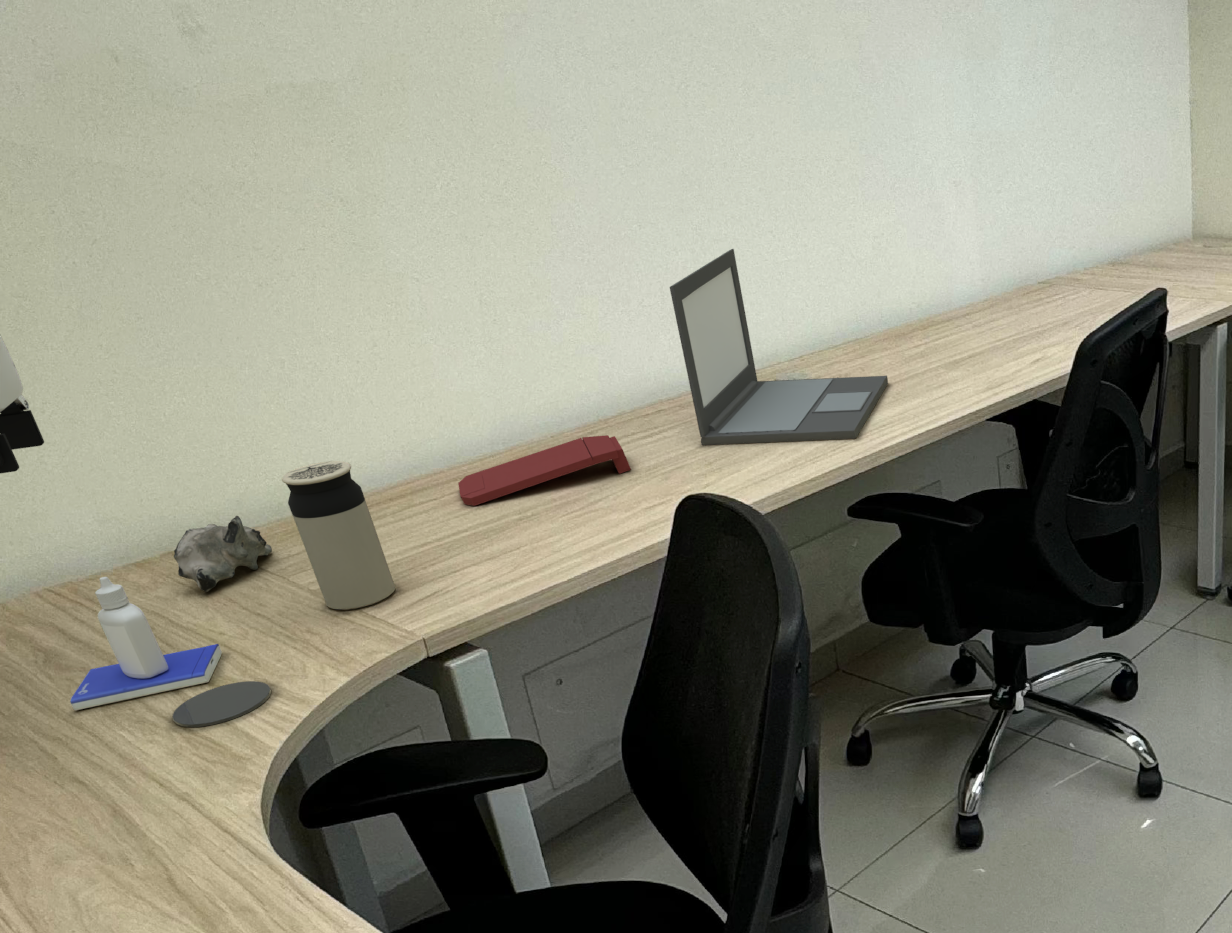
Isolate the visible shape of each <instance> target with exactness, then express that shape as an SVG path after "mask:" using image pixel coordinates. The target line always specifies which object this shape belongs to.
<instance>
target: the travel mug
mask: <svg viewBox="0 0 1232 933" xmlns="http://www.w3.org/2000/svg"><path fill="white" fill-rule="evenodd" d="M351 470H352V465H351V464H350V463H349V462H347V461H343V460H328V461H321V462H315V463H310V464H306V465H303V466H298V467H296V468H294V469H291V470H289V471H287V472H285V473H284V474H283V475H282V477H281V481H282V483H283V484H285V485H286V486H287V488H288V489H289V491H290V493H289V497H288V500H287V505H288V507H289V510H290V512H291V515H292V518H293V520H294V523H295V525H296V528H297V531H298V534H299V536H300V540H301V541H302V544H303V547H304V550H305V552H306V555H307V558H308V560H309V563H310V565H311V568H312V571H313V574H314V576H315V579H316V581H317V583H318V587H319V589H320V592H321V594H322V598H323V600H324V602H325V605H326V607H328V608H330V609H332V610H346V611H347V610H349V611H350V610H357V609H362V608H365V607H368V606H373V605H374V604H377V603H379V602H381V601H383V600H385V599H387V598H388V597H390V595H392V594H393V593H394V592H395V590H396V585H395V581H394V579H393V577H392V572H391V570H390V568H389V564H388V561H387V559H386V556H385V553H384V550H383V548H382V544H381V542H380V538H379V536H378V533H377V530H376V526H375V524H374V522H373V519H372V515H371V512H370V509H369V507H368V503H367V500H366V498H365V495H364V492H363V489H362V487H361V486H360V485H359V484H358V483H357V482H356V481H355V480H354V479H353V478H352V475H351Z"/></svg>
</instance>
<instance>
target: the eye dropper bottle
mask: <svg viewBox="0 0 1232 933" xmlns="http://www.w3.org/2000/svg"><path fill="white" fill-rule="evenodd" d="M99 584H100V588H98V589H97V590H96V591H95V592H94V594H95V596H96V599H97V601H98V602H99V605H100V607H101V609H100V610H99V611H98V613H97V620H98V622H99V625H100V627H101V629H102V631H103V633H104V635H105V638H106V639H107V642H108V644H109V646H110V648H111V650H112V653H113V654H114V656H115V659H116V662H117V664H119V665H120V667H121V669H122V671H123V673H124V674H125V675H127V676H129V677H132V678H139V679H146V678H151V677H154V676H156V675H158V674H161V673H163V672H165V671H167V670H168V665H167V662H166V660H165V658H164V656H163V655H164V654H163V651H162V649H161V647H160V645H159V643H158V641H157V638H156V636H155V633H154V632H153V630H152V627H151V625H150V622H149V621H148V619H147V616H146V615H145V613H144V611H143V610H142V609H141V608H140V607H139V606H137V605H136V604H133V603H132V602H130V600H129V598H128V595H127V593H126V590H125V589H124V587H123V585H122V584H115V583H113V582H112V581H111V580H110V578H109V577H108V576H102V577H100V578H99Z"/></svg>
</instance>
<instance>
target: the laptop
mask: <svg viewBox="0 0 1232 933" xmlns="http://www.w3.org/2000/svg"><path fill="white" fill-rule="evenodd" d="M669 292H670V296H671V302H672V306H673V310H674V315H675V320H676V325H677V330H678V336H679V339H680V344H681V349H682V354H683V359H684V364H685V369H686V374H687V378H688V383H689V388H690V394H691V398H692V403H693V408H694V412H695V416H696V417H695V418H696V422H697V428H698V432H699V436H700V444H701V446H716V445H740V444H762V443H765V444H766V443H785V442H786V443H787V442H788V443H789V442H809V441H810V442H811V441H829V440H830V441H831V440H834V441H835V440H855V439H857V438H858V436H859V434H860V432H861V430H862V429H863V427H864V426H865V424H866V422H867V420H868V419H869V417H870V415H871V414H872V412H873V410H874V409H875V407H876V405H877V403H878V401H879V400H880V398H881V396H882V395H883V394H884V391H885V390H886V388H887V386H888V384H889V379H888V375H872V376H871V375H870V376H869V375H868V376H849V377H848V376H846V377H829V378H827V377H826V378H823V377H822V378H801V379H800V378H799V379H779V380H778V379H777V380H758V377H757V376H758V375H757V371H756V366H755V365H756V364H755V359H754V354H753V349H752V342H751V337H750V332H749V327H748V321H747V315H746V310H745V304H744V299H743V298H744V297H743V293H742V287H741V282H740V276H739V270H738V266H737V260H736V254H735V249H734V248H731V249H729V250H727V251H726V252H724V253H722V254H721V255H719V256H717V257H716V258H714V259H713V260H711V261H709V262H708V263H706V264H704V265H703V266H701V267H700V268H697V269H696V270H695V271H693V272H691V273H690V274H688V275H686V276H685V277H683V278H681V279H680V280H679V281H677V282H675V283H673V284H672V285H670V286H669Z"/></svg>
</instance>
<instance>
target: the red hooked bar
mask: <svg viewBox="0 0 1232 933" xmlns="http://www.w3.org/2000/svg"><path fill="white" fill-rule="evenodd" d="M609 461H611V462H612V464H613V465H614V467H615V469H616V470H617V472H618V474H619V475H620V474H623V473H625V472H629V471H631V470H632V468H631V466H630V463H629V460H628V459H627V456H626V454H625V452H624V449H623V447H622V445H621V444H620V442H619V440H618V439H617V437H616V436H611V437H610V436H609V434H608V435H607V434H606V435H594V436H593V435H591V436H582V437H578V438H576V439H572V440H570V441H567V442H564V443H560V444H557V445H554V446H552V447H549V448H546V449H543V450H540V451H537V452H534V453H531V454H528V455H525V456H521V457H519V458H516V459H513V460H510V461H506V462H503V463H501V464H498V465H495V466H492V467H488V468H485V469H483V470H480V471H476V472H474V473H471V474H468V475H466V476H465V477H463V478H462V479H461V480H460V481H459V482H457V484H458V485H457V486H458V490H459V496H460V499H461V500H462V502H463V505H468V506H478V505H480V504H484V503H486V502H490V501H492V500H496V499H498V498H501V497H504V496H507V495H510V494H513V493H515V492H518V491H522V490H524V489H527V488H530V487H534V486H536V485H539V484H542V483H545V482H547V481H551V480H555V479H556V478H559V477H562V476H565V475H569V474H571V473H573V472H577V471H580V470H582V469H586V468H589V467H592V466H594V465H597V464H601V463H605V462H609Z"/></svg>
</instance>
